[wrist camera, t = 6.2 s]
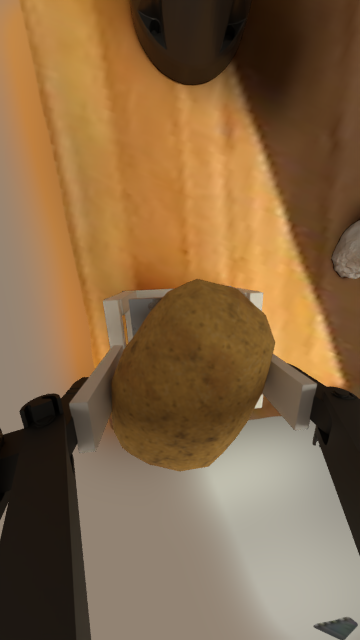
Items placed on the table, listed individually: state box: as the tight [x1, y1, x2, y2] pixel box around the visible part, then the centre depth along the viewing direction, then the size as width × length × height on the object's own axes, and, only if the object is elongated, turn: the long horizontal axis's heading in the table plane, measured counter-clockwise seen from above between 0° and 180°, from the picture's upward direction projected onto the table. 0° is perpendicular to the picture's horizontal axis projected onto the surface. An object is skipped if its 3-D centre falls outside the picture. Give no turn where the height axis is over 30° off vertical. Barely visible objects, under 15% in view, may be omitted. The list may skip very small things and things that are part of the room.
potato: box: [111, 279, 275, 471], centre depth 11 cm, size 9×13×7 cm
